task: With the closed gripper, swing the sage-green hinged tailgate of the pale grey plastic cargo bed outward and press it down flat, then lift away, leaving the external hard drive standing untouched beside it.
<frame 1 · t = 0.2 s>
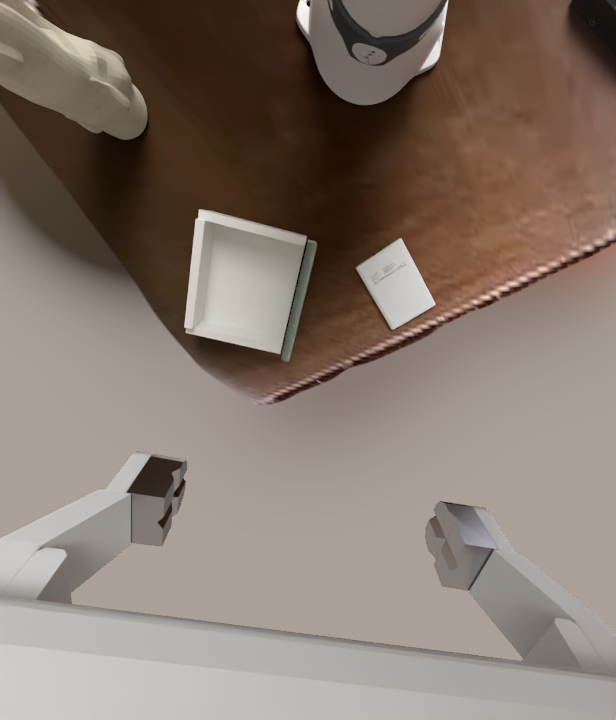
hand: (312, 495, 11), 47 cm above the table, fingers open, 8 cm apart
cargo bed: (249, 281, 54), on the table
external hard drive: (394, 284, 55), on the table
tailgate: (298, 300, 50), point 5 cm above the table, hinge at 0.0°
cream statue: (126, 108, 46), on the table
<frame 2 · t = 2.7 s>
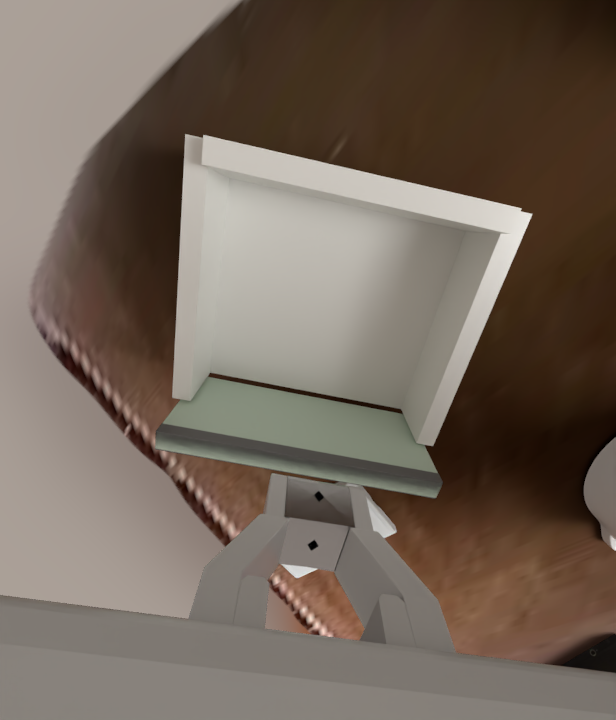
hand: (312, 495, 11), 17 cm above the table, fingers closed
cargo bed: (327, 295, 25), on the table
external hard drive: (323, 520, 35), on the table
tailgate: (303, 429, 23), point 6 cm above the table, hinge at 0.0°
portable cd player: (601, 679, 45), on the table
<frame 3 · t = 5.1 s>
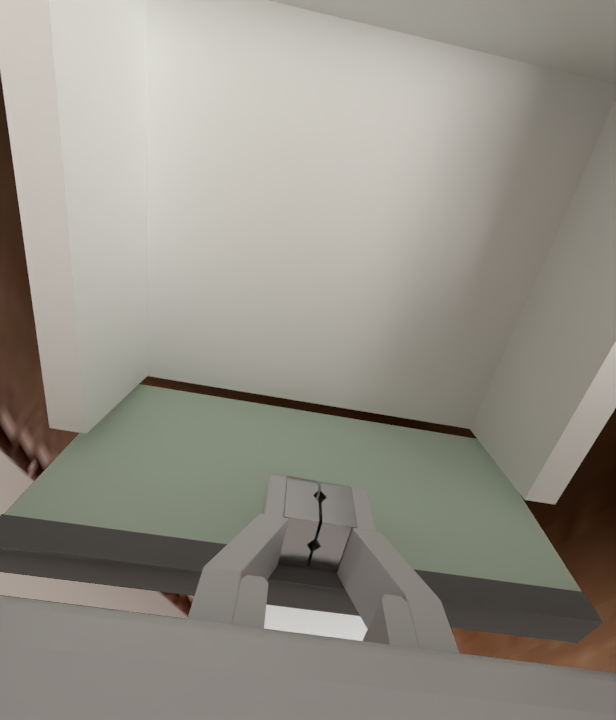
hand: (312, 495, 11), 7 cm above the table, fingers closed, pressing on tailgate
cargo bed: (346, 236, 14), on the table
external hard drive: (337, 585, 24), on the table
tailgate: (308, 486, 13), point 5 cm above the table, hinge at 6.4°, touching gripper
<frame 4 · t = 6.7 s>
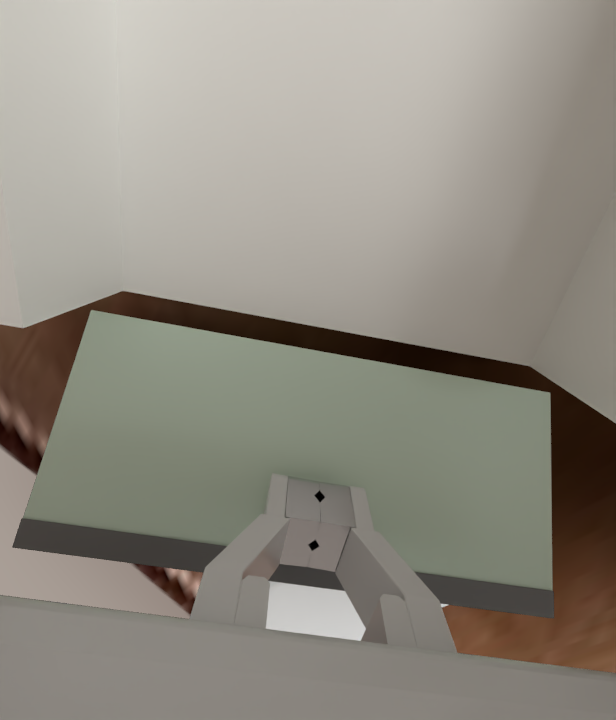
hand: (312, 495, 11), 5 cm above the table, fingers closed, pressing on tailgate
cargo bed: (381, 103, 11), on the table
external hard drive: (351, 570, 21), on the table
tailgate: (314, 458, 12), point 4 cm above the table, hinge at 54.4°, touching gripper
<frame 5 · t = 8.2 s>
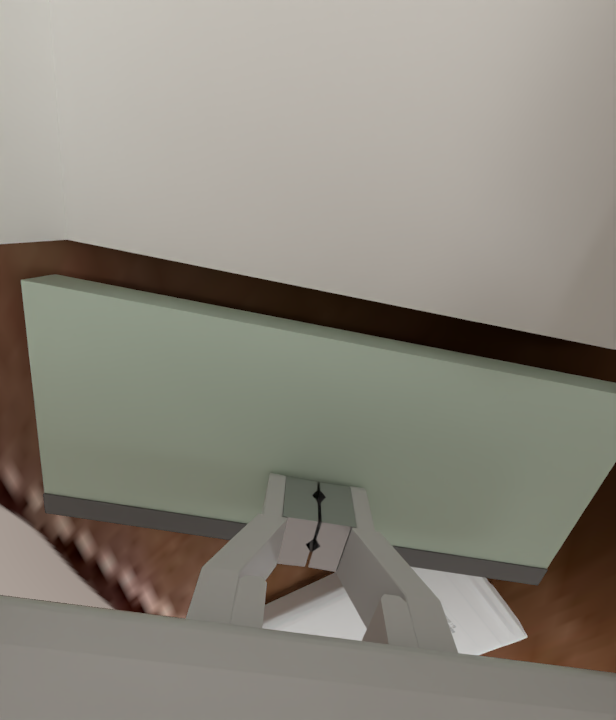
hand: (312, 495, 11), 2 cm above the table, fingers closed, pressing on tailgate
external hard drive: (367, 606, 17), on the table
tailgate: (326, 448, 11), point 2 cm above the table, hinge at 88.6°, touching gripper
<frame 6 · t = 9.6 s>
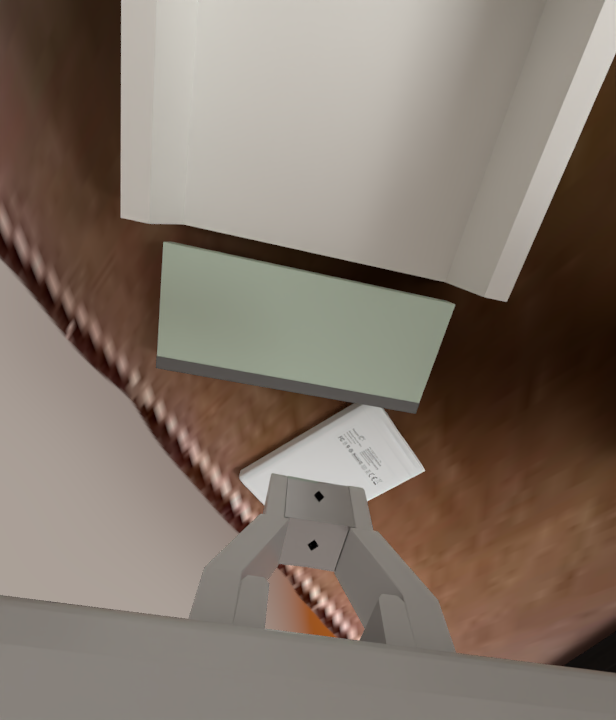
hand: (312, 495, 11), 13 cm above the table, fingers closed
cargo bed: (348, 110, 18), on the table
external hard drive: (330, 461, 28), on the table
tailgate: (302, 334, 21), point 2 cm above the table, hinge at 88.7°
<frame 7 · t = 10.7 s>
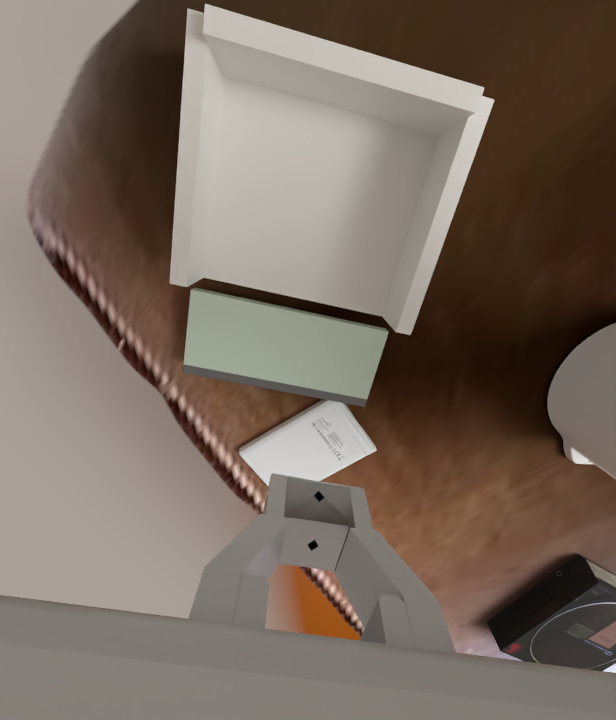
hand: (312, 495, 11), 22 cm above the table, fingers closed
cargo bed: (314, 204, 27), on the table
external hard drive: (307, 442, 37), on the table
tailgate: (284, 350, 30), point 2 cm above the table, hinge at 88.7°
portable cd player: (566, 604, 48), on the table
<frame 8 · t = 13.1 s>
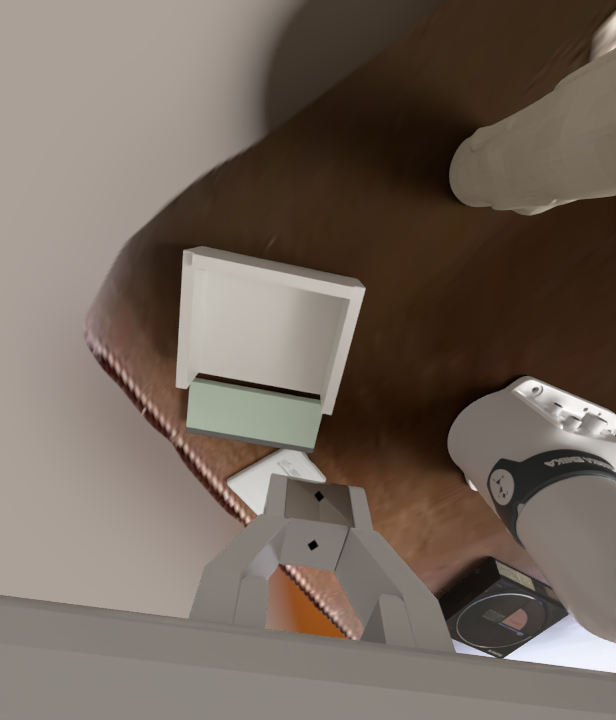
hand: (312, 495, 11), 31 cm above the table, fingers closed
cargo bed: (270, 324, 41), on the table
external hard drive: (277, 474, 51), on the table
tailgate: (254, 416, 44), point 2 cm above the table, hinge at 88.7°
cream statue: (482, 173, 35), on the table
portable cd player: (490, 595, 61), on the table
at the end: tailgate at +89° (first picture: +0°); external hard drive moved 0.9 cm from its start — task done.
